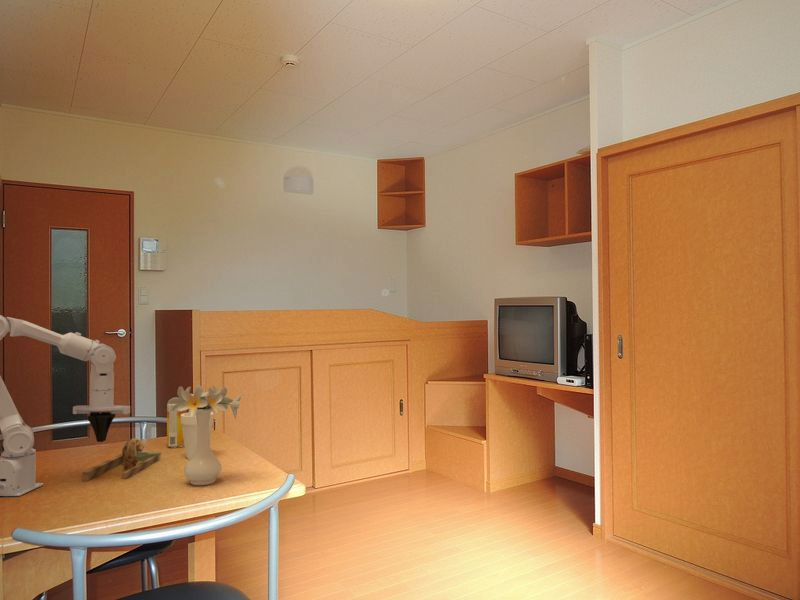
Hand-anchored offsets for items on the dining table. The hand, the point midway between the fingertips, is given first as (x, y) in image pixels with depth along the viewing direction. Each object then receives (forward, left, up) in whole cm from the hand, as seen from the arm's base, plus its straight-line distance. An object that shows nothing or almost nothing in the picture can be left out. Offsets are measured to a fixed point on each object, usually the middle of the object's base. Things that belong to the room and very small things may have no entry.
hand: (101, 441), depth 156 cm
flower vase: (-2, -29, -10) cm, 31 cm away
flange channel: (+9, -2, -10) cm, 13 cm away
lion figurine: (+12, -3, -10) cm, 16 cm away
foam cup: (+24, -17, -10) cm, 31 cm away
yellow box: (+38, -5, -10) cm, 39 cm away
